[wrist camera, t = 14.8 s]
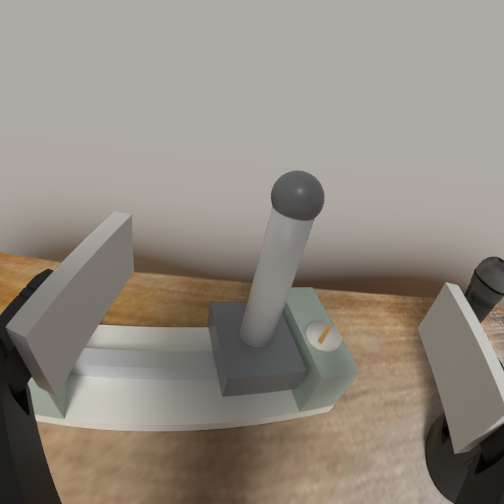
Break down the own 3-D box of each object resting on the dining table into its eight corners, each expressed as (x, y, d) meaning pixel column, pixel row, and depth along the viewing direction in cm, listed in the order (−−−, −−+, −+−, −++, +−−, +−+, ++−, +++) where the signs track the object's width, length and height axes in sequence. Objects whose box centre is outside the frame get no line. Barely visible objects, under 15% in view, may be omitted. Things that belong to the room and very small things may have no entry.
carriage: (270, 321, 34) (321, 160, 24) (296, 388, 26) (384, 209, 17) (207, 323, 31) (239, 146, 22) (222, 396, 24) (275, 193, 15)
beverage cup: (444, 314, 48) (496, 220, 38) (472, 333, 44) (528, 242, 34) (437, 332, 43) (498, 229, 33) (468, 354, 39) (534, 254, 29)
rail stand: (293, 332, 38) (314, 283, 34) (328, 411, 29) (362, 367, 24) (51, 329, 29) (34, 274, 25) (32, 420, 19) (-2, 372, 15)
